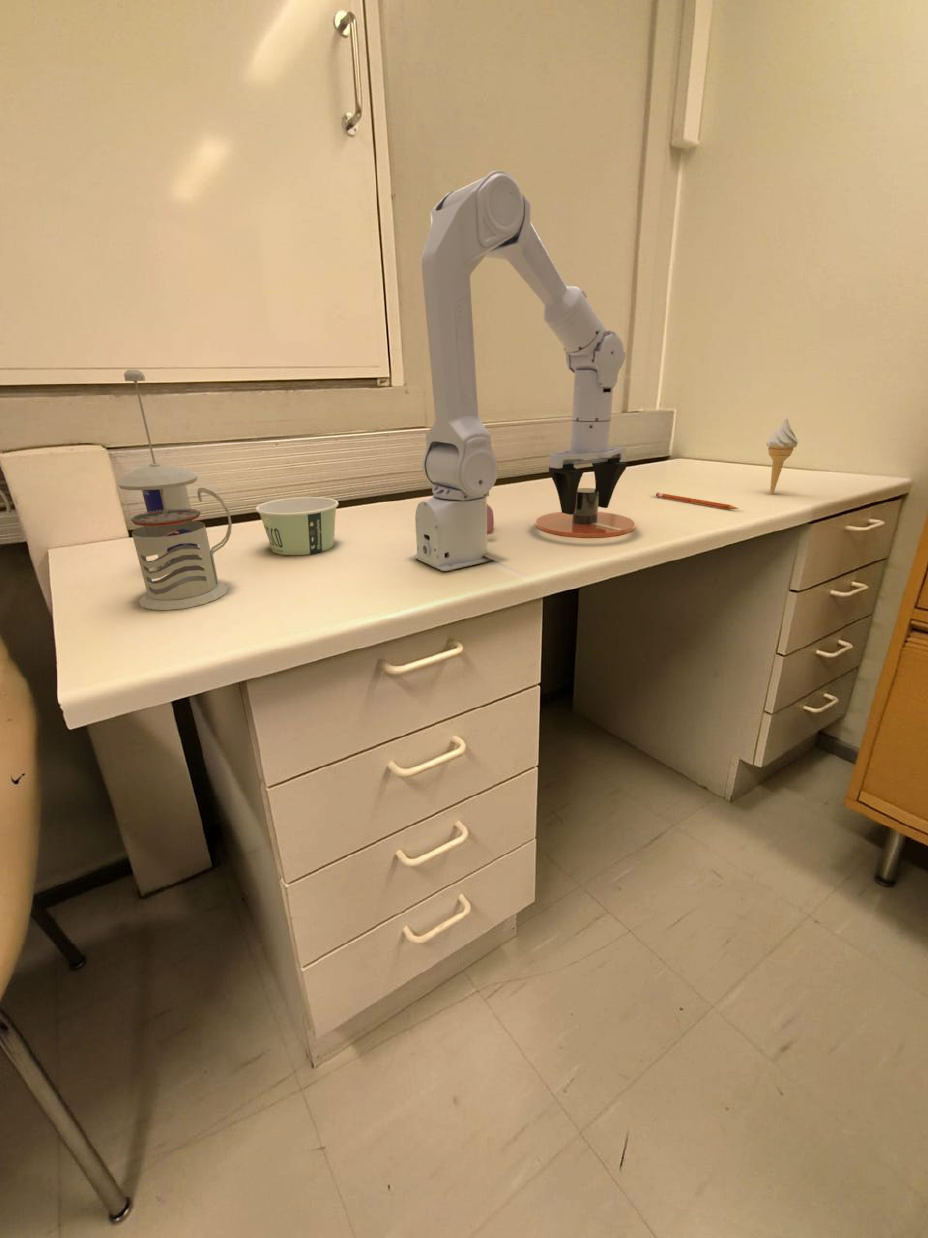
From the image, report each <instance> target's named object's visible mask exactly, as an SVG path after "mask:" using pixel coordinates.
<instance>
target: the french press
mask: <svg viewBox="0 0 928 1238" xmlns="http://www.w3.org/2000/svg"><path fill="white" fill-rule="evenodd" d="M123 375H124V381H125V382H133V383H134V385H135V389H136V394H137V398H138V403H139V408H140V412H141V416H142V421H143V424H144V428H145V429H144V430H145V434H146V437H147V443H148V446H149V450H150V455H151V459H152V463H150V464H149V465H147V466H142V467H138V468H137V469H134V470H133V471H131V472H129V473H128V474H125V475H124V476H123V477H121V478H120V479H119V480H118V481H116V484H117V486H118V487H119V488H120V489H121V490H125V491H142V490H157V489H159V490H160V494H161V499H162V503H163V507H164V510H162V511H161V510H159V511H158V510H156V512H155V511H153V512H152V511H151V512H152V513H151V512H148V513H147V511H145V512H144V513H142V512H141V513H139V514H137V515H134V516H133V517H132V518H131V519H130V521H131V522H132V523H133V524H134V525H136V526H141V527H139V528H136V529H134V530H132V532H131V537H132V539H133V543H134V548H135V552H136V555H137V559H138V563H139V567H140V570H141V574H142V579H143V582H144V586H145V589H146V592H145V593H143V595H142V596H141V598H140V599H139V601H138V603H139V604H140V607H142V608H145V609H148V610H156V611H171V610H183V609H188V608H192V607H196V606H202V605H205V604H207V603H211V602H213V601H216V600H219V598H222V596H225V595H226V593H227V591H228V590H229V588H228V587H227V586H226V585H225V584H224V583H223V582H222V581H220V580H219V578H218V573H217V568H216V563H215V559H214V554H215V553H216V552H217V551H219V550H221V549H222V548H224V546H225V545H226V544H227V543H228V541H229V540H230V536H231V534H232V527H233V522H232V518H231V513H230V510H229V508H228V506H227V504H226V503H225V501H224V500H223V498H222V497H221V496H220V495H219V494H217V493H216V492H214V491H213V490H210V489H208V488H205V487H199V488H198V489H197V493H196V494H197V498H198V501H199V502H200V503H202V502H203V501H202V493H204V494H207V495H210V496H212V497H213V498H215V499H216V500H218V502H219V504H221V506H222V507H223V508H224V510H225V512H226V515H227V519H228V520H227V521H228V524H227V531H226V534H225V536H224V537H223V538H222V539H221V541H219V542H218V543H217V544H215V545H213V546H212V547H211V546H210V543H209V542H210V541H209V537H208V533H207V527H206V524H205V523H204V522H203V521H198V520H196V519H198V518H199V517H200V516H201V511H199V510H198V509H195V508H191V509H189V508H187V509H186V508H185V510H184V508H183V509H181V508H180V509H179V508H178V510H176V509H175V510H173V509H172V510H170V509H169V510H167V509H166V507H165V502H164V498H163V494H162V489H166V488H174V487H180V486H185V485H186V486H189V485H192V484H195V483H196V482H197V481H198V478H199V477H198V475H196V474H195V473H193V472H191V471H190V470H188V469H185V468H182V467H177V466H173V465H168V464H160V463H159V462H156V459H155V454H154V450H153V447H152V442H151V438H150V437H151V436H150V433H149V428H148V425H147V421H146V416H145V412H144V408H143V407H144V406H143V403H142V399H141V398H142V397H141V394H140V389H139V385H138V382H145V381H146V377H145V374H144V373H143V372H142V371H141V370H139V369H137V368H136V369H135V368H131V369H127V370H126V371H125V372H124V374H123ZM157 511H158V512H157ZM191 520H193V521H191ZM180 529H185V530H190V531H193V532H189V533H185V534H180V535H173V536H166V535H168V534H169V533H170V532H174V531H177V530H180ZM165 536H166V537H165ZM183 543H194V544H199V548H198V547H196V546H192V545H186V544H185V545H181V546H177V547H175V548H173V549H172V550H170V551H169V552H167V553H166V554H164V555H163V556H161V557H159V558H158V557H156V558H155V559H153V560H148V559H147V558H148V557H152V556H158V554H159V553H160V552H162V551H164V550H166V549H168V548H169V547H172V546H175V545H178V544H183ZM182 555H183V556H182ZM195 555H200V556H201V557H199V556H195ZM176 557H177V558H176ZM174 558H175V559H174ZM171 559H174V560H172V561H171V562H169V563H168V564H167V565H165V566H163V567H162V566H160V565H162V564H164V563H166V562H168V561H170V560H171ZM158 567H160V568H158ZM153 568H157V569H156V570H150V569H153ZM154 579H157V580H154Z"/></svg>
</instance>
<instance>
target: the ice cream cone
mask: <svg viewBox="0 0 928 1238" xmlns="http://www.w3.org/2000/svg"><path fill="white" fill-rule="evenodd" d="M798 443H799V440H798V439H797V437H796V435H795V433H794V431H793V429H792V427H791V425H790V423H789V419H788V417H785V419H784V421H783V422H782V423H781V425H780V426H779V427H778V428H777V429H776V430H775V431H774V432H773V433H772V434H771V435H770V436H769V437H768V438H767V440H766V447H768V448H767V450H768V455H769V457H770V458H771V460H772V465H771V475H770V476H771V477H770V488H769V493H770V495H773V494H774V493H775V491H776V487H777V484H778V482H779V478H780V475H781V472H782V469H783V467H784V462H785V461H786V460H787V459H788V458H789V457H790V456H792V454H793V451H794V448H797V445H798Z"/></svg>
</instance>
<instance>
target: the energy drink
mask: <svg viewBox="0 0 928 1238" xmlns="http://www.w3.org/2000/svg"><path fill="white" fill-rule="evenodd" d="M141 493H142V497H143V500H144V504H145V509H146V512H147V513H148V512H151V511H152V512H153V511H155V512H156V510H158V511H159V510H161V511H162V510H164V507H163V503H162V499H161V494H160V490H159V489H157V490H141ZM162 494H163V498H164V502H165V507H166V509H167V510H169V509H170V510H172V509H173V510H175V509H176V510H178V508H179V509H180V508H181V509H183V508H184V510H185V508H186V509H187V508H189V509H192V507H191V503H190V497H189V494H188V488H187V485H185V486H180V487H174V488H166V489H162ZM158 511H157V512H158ZM152 512H151V513H152ZM147 513H146V514H147ZM191 521H194V520H191ZM189 532H193V531H190V530H185V529H180V530H177V531H174V532H170V533H169V534H168V535H166V536H173V535H180V534H185V533H189ZM166 536H165V537H166ZM185 544H186V545H192V546H196V547H198V548H199V544H194V543H183V544H178V545H175V546H172V547H169V548H168V549H166V550H164V551H162V552H160V553H159V554H157V558H159V557H161V556H163V555H164V554H166V553H167V552H169V551H170V550H172V549H173V548H175V547H177V546H181V545H185ZM182 556H183V555H182ZM195 556H199V557H201V556H200V555H195ZM176 558H177V557H176ZM201 558H202V557H201ZM174 559H175V558H174ZM174 559H171V560H170V561H168V562H166V563H164V564H162V565H160V566H159V567H163V566H165V565H167V564H168V563H169V562H171V561H172V560H174Z"/></svg>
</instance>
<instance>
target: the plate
mask: <svg viewBox="0 0 928 1238" xmlns="http://www.w3.org/2000/svg"><path fill="white" fill-rule="evenodd" d="M599 492H600V491H599V490H598V489H595V487H594V488H592V487H578V490H577V496H576V506H575V511H574V514H572V515H569V514H565V513H562V511H557V512H551V513H547V514H543V515H541V516H539V517H538V518H536V520H535V527H537V528H538V529H539V530H541V531H543V532H545V533H548V534H553V535H558V536H562V537H569V538H570V537H571V538H593V539H594V538H607V537H608V538H609V537H616V536H617V537H618V536H622V535H625V534H628V533H630V532H632V531H633V530H634V529H635V525H636V523H635V521H634V520H633V519H631V518H630V517H627V516H624V515H620V514H616V513H611V512H604V511H599V507H598V505H599Z"/></svg>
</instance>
